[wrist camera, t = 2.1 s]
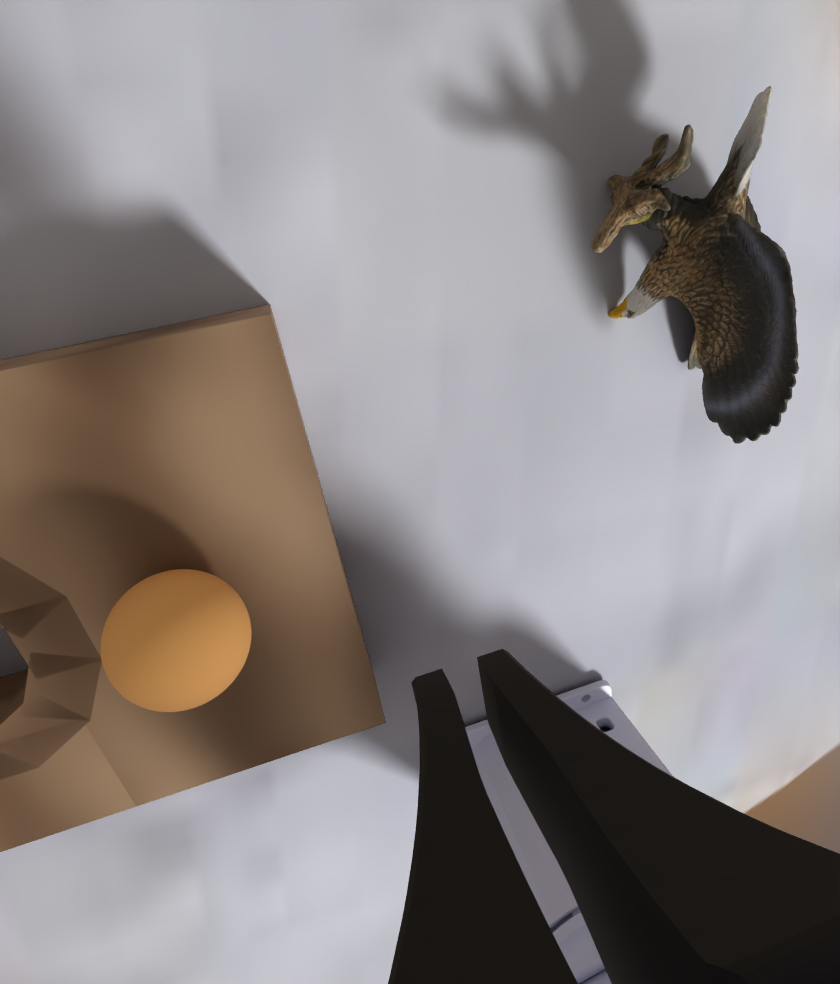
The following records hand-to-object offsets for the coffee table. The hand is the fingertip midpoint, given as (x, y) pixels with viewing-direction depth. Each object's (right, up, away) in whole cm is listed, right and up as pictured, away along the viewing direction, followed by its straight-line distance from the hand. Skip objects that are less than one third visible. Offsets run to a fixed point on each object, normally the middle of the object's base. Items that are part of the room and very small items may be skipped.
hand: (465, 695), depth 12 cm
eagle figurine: (+8, +13, +9) cm, 17 cm away
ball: (-8, 0, +4) cm, 9 cm away
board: (-13, +1, +7) cm, 15 cm away
